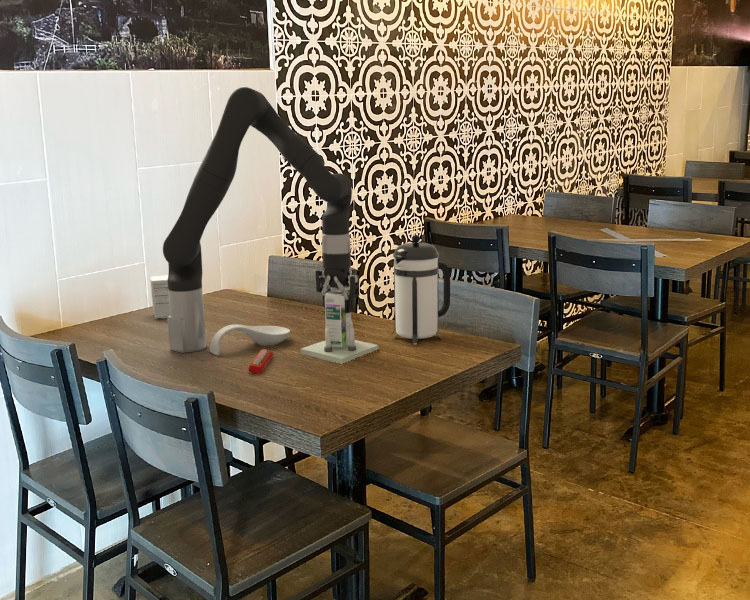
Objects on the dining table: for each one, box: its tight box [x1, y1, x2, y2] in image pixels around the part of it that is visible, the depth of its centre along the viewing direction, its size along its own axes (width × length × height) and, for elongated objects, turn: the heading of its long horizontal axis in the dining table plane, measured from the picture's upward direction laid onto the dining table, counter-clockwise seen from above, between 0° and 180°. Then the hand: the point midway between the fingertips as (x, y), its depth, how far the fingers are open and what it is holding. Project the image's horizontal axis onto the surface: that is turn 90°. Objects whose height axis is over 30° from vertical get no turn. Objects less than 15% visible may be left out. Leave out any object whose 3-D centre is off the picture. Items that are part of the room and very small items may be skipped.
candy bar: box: [247, 348, 274, 375], centre depth 215 cm, size 16×4×3 cm, turn 174°
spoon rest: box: [209, 323, 291, 356], centre depth 231 cm, size 24×12×7 cm, turn 128°
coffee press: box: [390, 234, 451, 344], centre depth 233 cm, size 17×16×30 cm
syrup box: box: [324, 290, 352, 347], centre depth 223 cm, size 6×6×14 cm
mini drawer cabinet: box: [149, 274, 170, 320], centre depth 266 cm, size 7×7×13 cm
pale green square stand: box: [300, 321, 380, 365], centre depth 224 cm, size 15×15×8 cm
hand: (338, 310), depth 222 cm, fingers closed on syrup box, 7 cm apart
